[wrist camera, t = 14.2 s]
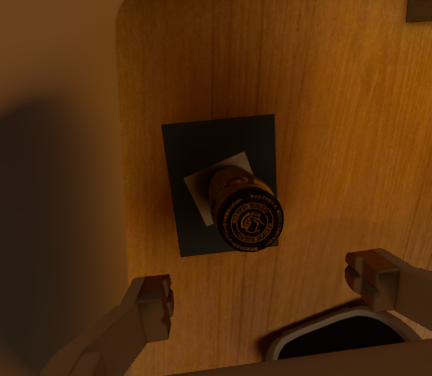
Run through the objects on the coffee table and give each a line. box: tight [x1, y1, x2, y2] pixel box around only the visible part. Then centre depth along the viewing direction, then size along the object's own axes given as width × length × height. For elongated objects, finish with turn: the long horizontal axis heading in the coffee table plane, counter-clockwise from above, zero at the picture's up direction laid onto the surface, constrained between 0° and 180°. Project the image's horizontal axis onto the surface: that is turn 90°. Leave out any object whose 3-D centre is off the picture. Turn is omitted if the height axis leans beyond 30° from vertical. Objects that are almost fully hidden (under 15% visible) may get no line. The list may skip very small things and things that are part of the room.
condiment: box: [183, 152, 284, 252], centre depth 21 cm, size 7×8×12 cm
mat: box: [161, 114, 278, 257], centre depth 28 cm, size 18×14×1 cm
